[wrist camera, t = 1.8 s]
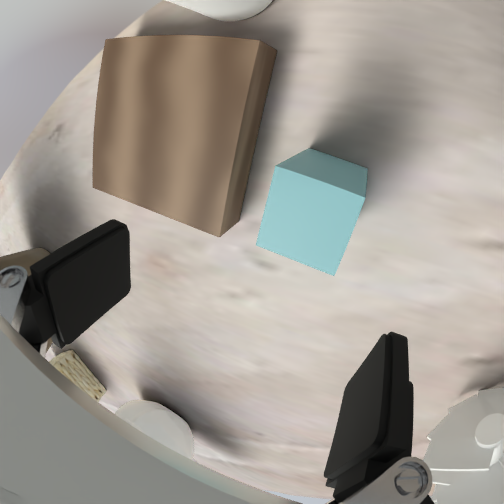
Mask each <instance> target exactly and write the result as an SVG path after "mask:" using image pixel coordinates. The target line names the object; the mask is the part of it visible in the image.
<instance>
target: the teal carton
mask: <svg viewBox="0 0 504 504" xmlns="http://www.w3.org/2000/svg"><path fill="white" fill-rule="evenodd" d="M367 172H368V169H367V168H364V167H362V166H359V165H356V164H354V163H351V162H348V161H346V160H343V159H340V158H337V157H334V156H331V155H328V154H325V153H322V152H319V151H316V150H313V149H310V148H308V149H307V150H305V151H303V152H301V153H299V154H297V155H295V156H293V157H291V158H289V159H287V160H286V161H284V162H282V163H280V164H278V165H276V166H275V170H274V174H273V178H272V182H271V186H270V190H269V194H268V198H267V202H266V206H265V210H264V214H263V218H262V222H261V226H260V230H259V234H258V238H257V242H256V245H257V246H259V247H262V248H264V249H267V250H269V251H272V252H274V253H277V254H280V255H282V256H285V257H287V258H290V259H292V260H295V261H297V262H300V263H302V264H305V265H307V266H310V267H312V268H315V269H317V270H320V271H323V272H325V273H328V274H330V275H333V276H334V275H335V273H336V271H337V268H338V266H339V264H340V261H341V259H342V257H343V254H344V252H345V249H346V247H347V244H348V242H349V239H350V237H351V234H352V232H353V229H354V227H355V224H356V221H357V219H358V216H359V214H360V211H361V208H362V206H363V203H364V200H365V196H366V185H367Z"/></svg>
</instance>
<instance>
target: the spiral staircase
mask: <svg viewBox="0 0 504 504" xmlns="http://www.w3.org/2000/svg"><path fill="white" fill-rule="evenodd" d="M448 410H449V414H448V415H447V416H446V417H445V418H444V419H443V420H442V421H441V422H440V423H439V424H438V425H437V427H436V428H435V429H434V430H433V431H432V432H431V433H430V434H429V435H428V436H427V438H428V439H429V440H431V441H430V444H429V447H428V449H427V452H426V454H425V456H424V459H423V461H424V462H425V463H426V464H427V465H428V467H429V468H430V470H431V474H432V483H435V484H436V486H435V489H434V492H433V495H432V498H431V499H432V501H433V502H435V504H504V387H501V388H494V389H486V390H479V392H478V397H477V395H474V396H472V397H470V398H468V399H466V400H465V401H463V402H461V403H459V404H457V405H455V406H453V407H451V408H449V409H448Z"/></svg>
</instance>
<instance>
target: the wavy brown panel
mask: <svg viewBox="0 0 504 504" xmlns="http://www.w3.org/2000/svg"><path fill="white" fill-rule="evenodd" d="M276 54H277V50H275V49H274V48H272V47H270V46H269V45H267V44H265V43H264V42H262V41H260V40H253V39H244V38H234V37H222V36H204V35H152V36H135V37H123V38H113V39H106V40H105V46H104V51H103V57H102V63H101V69H100V76H99V84H98V92H97V101H96V112H95V125H94V142H93V188H95V189H98V190H100V191H103V192H106V193H108V194H111V195H113V196H116V197H118V198H121V199H123V200H126V201H128V202H131V203H133V204H136V205H138V206H141V207H144V208H146V209H149V210H151V211H154V212H156V213H159V214H161V215H164V216H166V217H169V218H171V219H174V220H176V221H179V222H181V223H184V224H187V225H189V226H192V227H194V228H197V229H199V230H202V231H204V232H207V233H209V234H212V235H214V236H217V237H221V236H222V235H223V234H224V233H225V232H227V231H228V230H229V229H230V228H231V227H233V226H234V225H235V224H236V223H237V222H239V219H240V214H241V209H242V205H243V200H244V195H245V191H246V186H247V181H248V177H249V172H250V167H251V163H252V158H253V154H254V149H255V145H256V140H257V136H258V131H259V127H260V122H261V118H262V114H263V109H264V105H265V100H266V96H267V92H268V87H269V83H270V79H271V75H272V70H273V66H274V62H275V58H276Z"/></svg>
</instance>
